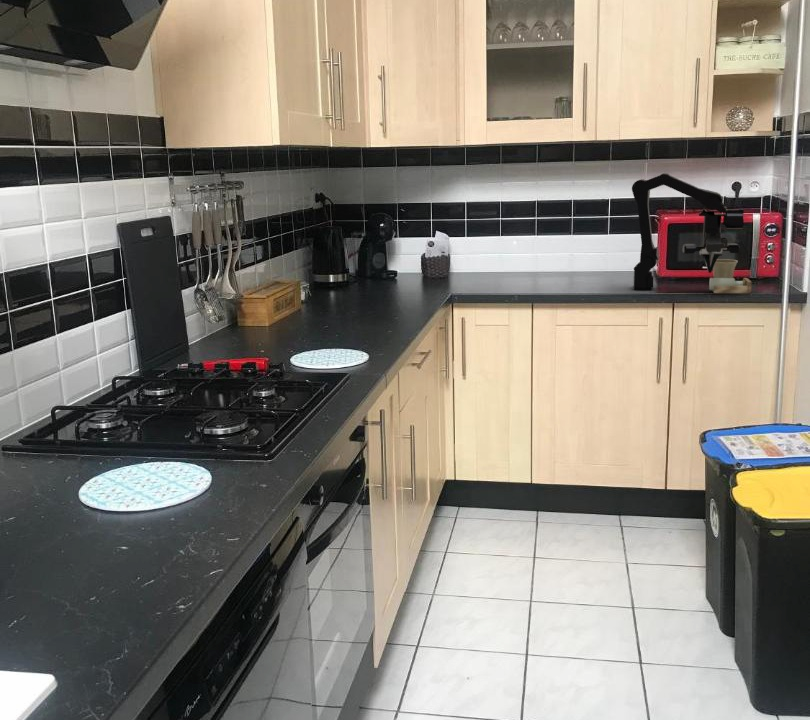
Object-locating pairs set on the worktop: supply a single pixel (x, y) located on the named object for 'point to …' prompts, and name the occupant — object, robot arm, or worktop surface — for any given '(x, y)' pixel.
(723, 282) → the bottle
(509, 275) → the worktop surface
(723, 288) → the cradle
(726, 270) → the flower pot
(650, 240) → the robot arm
